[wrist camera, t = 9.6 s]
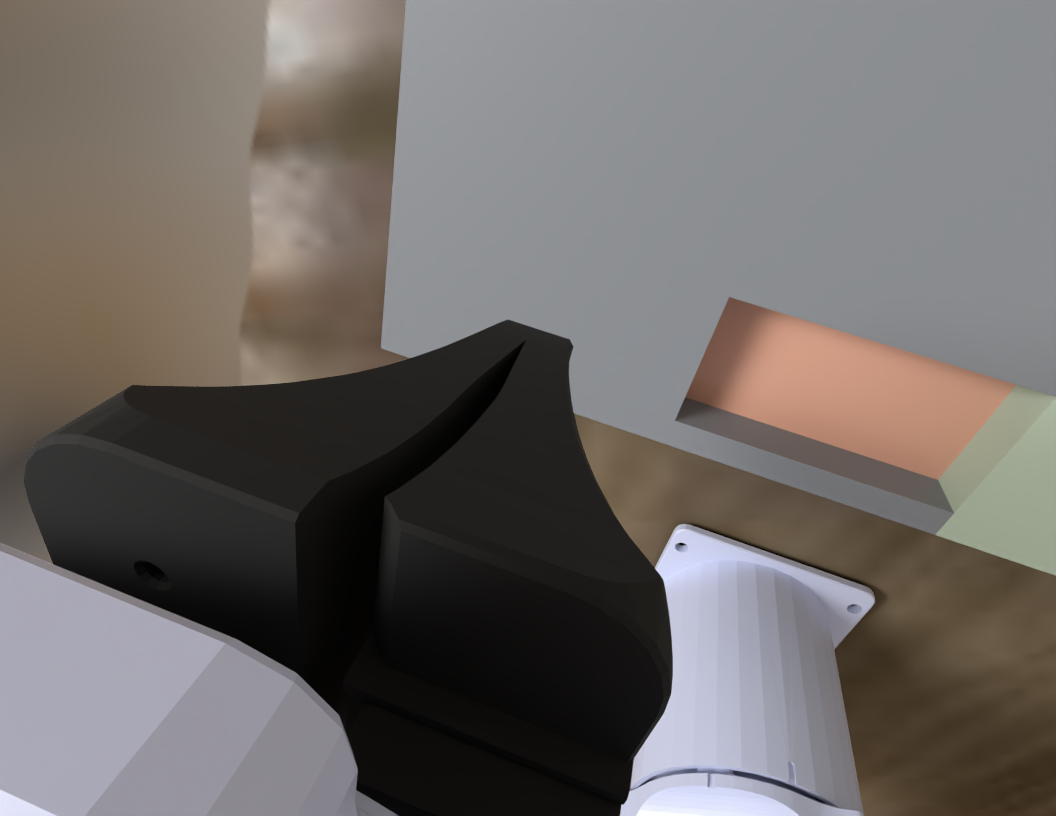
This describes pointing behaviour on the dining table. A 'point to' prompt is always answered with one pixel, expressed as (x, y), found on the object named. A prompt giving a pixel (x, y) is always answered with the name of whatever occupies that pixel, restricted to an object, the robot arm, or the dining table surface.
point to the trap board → (757, 234)
